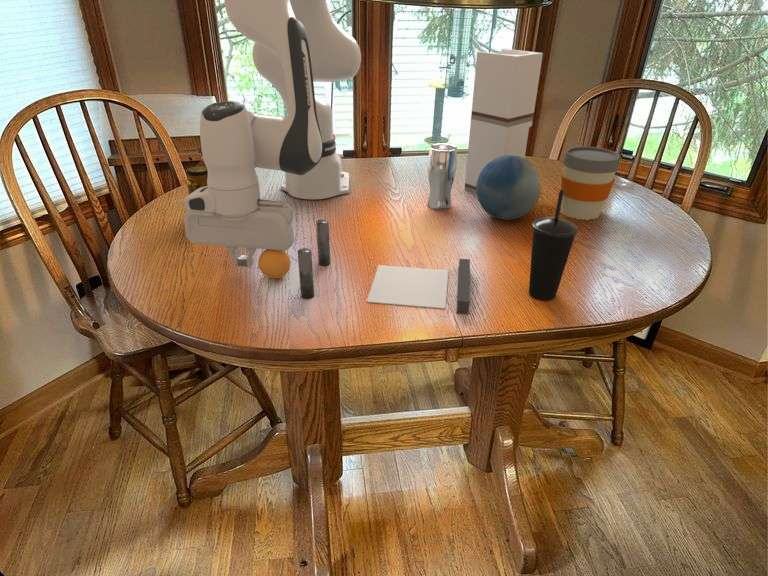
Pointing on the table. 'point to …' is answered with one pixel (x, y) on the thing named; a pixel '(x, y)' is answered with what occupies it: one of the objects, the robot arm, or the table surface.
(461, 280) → the wall
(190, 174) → the condiment
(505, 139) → the tall brown-banded box
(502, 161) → the decorative ball
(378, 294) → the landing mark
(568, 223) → the drinking cup
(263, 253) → the ball
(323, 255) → the post
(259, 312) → the table surface
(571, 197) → the reusable coffee cup
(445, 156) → the silver metal cylinder
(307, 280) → the post
